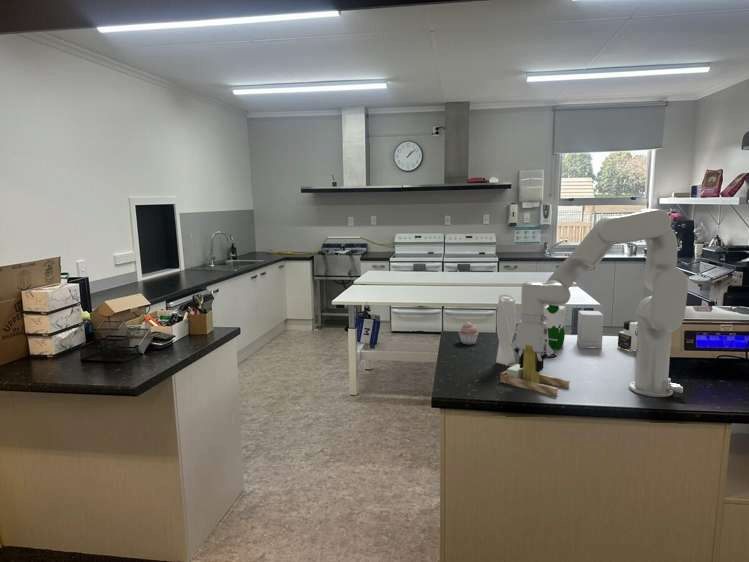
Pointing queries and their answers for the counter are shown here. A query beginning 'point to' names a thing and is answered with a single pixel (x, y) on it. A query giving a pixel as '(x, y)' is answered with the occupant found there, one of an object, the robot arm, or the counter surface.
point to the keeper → (515, 371)
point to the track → (536, 386)
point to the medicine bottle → (628, 336)
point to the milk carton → (555, 325)
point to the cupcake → (468, 333)
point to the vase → (530, 365)
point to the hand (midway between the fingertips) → (530, 368)
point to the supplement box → (590, 329)
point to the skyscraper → (506, 331)
